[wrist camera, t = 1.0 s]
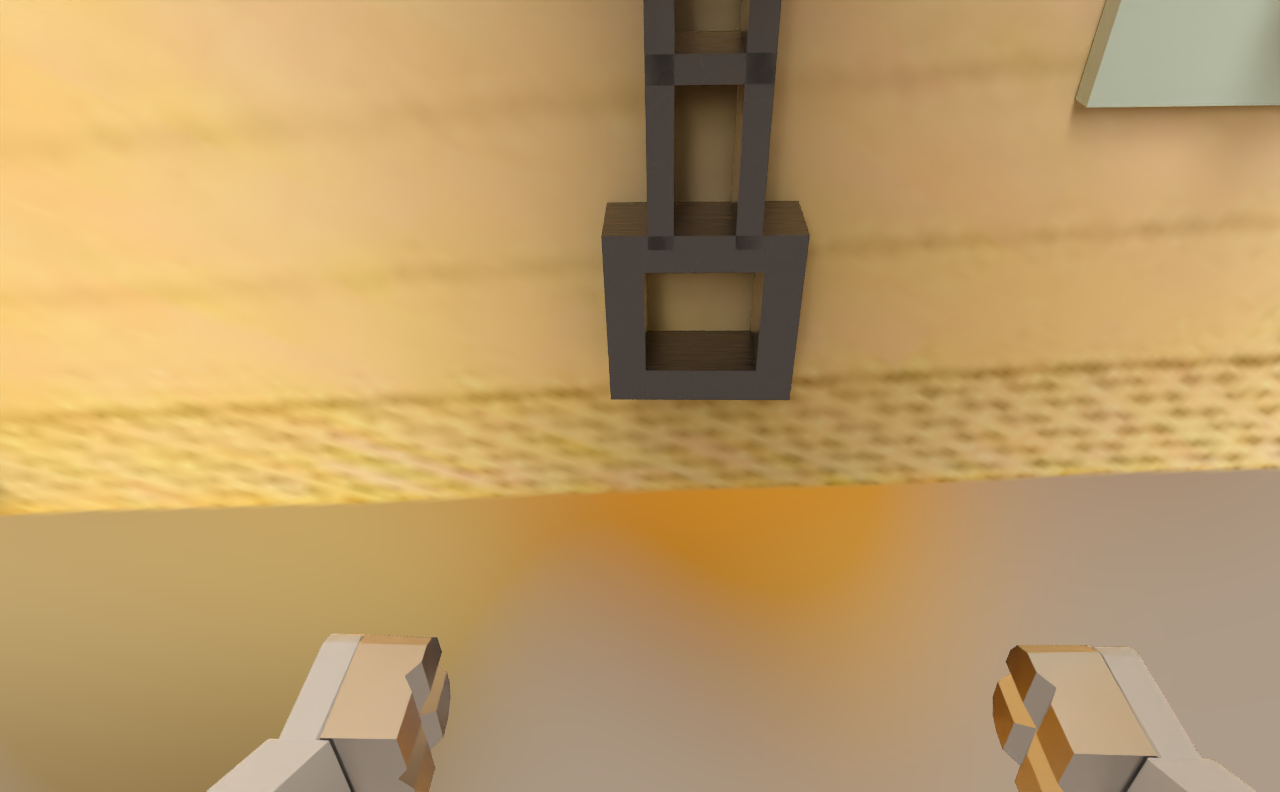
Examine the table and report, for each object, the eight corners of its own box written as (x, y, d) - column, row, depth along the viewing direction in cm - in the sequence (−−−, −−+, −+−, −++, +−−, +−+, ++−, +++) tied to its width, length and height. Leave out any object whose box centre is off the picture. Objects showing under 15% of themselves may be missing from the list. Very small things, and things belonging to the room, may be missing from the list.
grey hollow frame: (781, 358, 37) (789, 399, 34) (615, 358, 37) (611, 399, 35) (840, -185, 24) (860, -184, 22) (587, -177, 24) (577, -176, 22)
